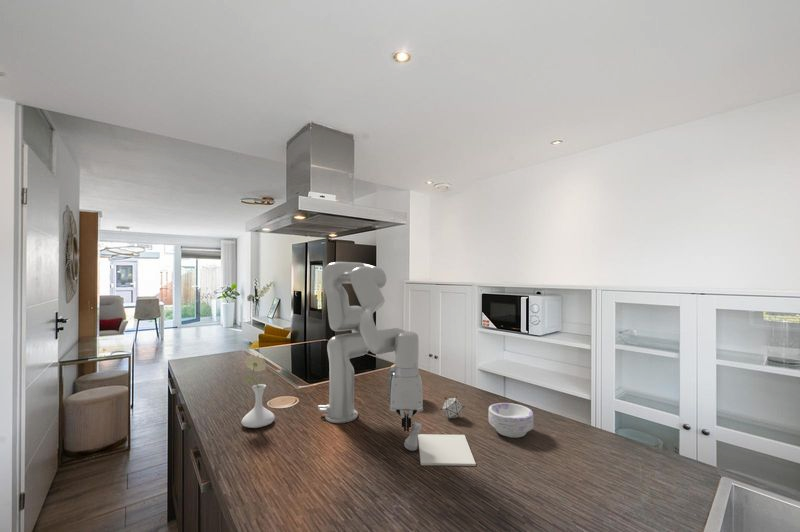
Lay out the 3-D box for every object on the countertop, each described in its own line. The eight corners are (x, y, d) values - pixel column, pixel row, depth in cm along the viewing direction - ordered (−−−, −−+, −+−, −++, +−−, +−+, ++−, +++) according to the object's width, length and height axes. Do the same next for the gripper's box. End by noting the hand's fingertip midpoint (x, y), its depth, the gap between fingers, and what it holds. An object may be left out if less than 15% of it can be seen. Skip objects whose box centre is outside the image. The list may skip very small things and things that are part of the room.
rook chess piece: (402, 441, 112) (410, 418, 112) (415, 445, 112) (423, 421, 112) (404, 449, 107) (411, 425, 107) (417, 453, 108) (425, 428, 107)
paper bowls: (501, 419, 133) (501, 398, 133) (540, 432, 122) (540, 409, 122) (480, 431, 122) (480, 409, 123) (520, 447, 112) (520, 422, 112)
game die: (456, 429, 132) (464, 415, 126) (435, 419, 134) (442, 404, 128) (461, 410, 139) (469, 396, 134) (441, 401, 141) (448, 386, 135)
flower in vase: (281, 421, 129) (282, 354, 130) (257, 433, 119) (258, 361, 120) (256, 414, 135) (257, 350, 135) (230, 426, 125) (232, 356, 125)
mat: (420, 465, 101) (420, 462, 101) (417, 435, 119) (418, 434, 119) (475, 465, 100) (475, 463, 100) (464, 436, 118) (464, 434, 118)
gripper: (382, 374, 106) (382, 434, 106) (430, 374, 106) (430, 435, 106) (383, 367, 114) (383, 424, 113) (429, 368, 114) (429, 424, 113)
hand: (406, 429), depth 110 cm, fingers closed
